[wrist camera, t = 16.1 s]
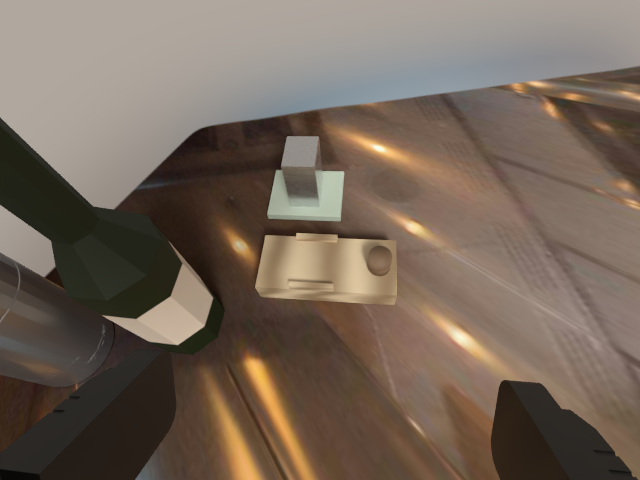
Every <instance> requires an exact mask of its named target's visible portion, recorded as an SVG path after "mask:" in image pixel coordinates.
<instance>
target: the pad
mask: <svg viewBox="0 0 640 480" xmlns="http://www.w3.org/2000/svg"><path fill="white" fill-rule="evenodd" d="M322 174H323V183H322V192H321V200H320V207H292V206H291V205H290V201H289V197H288V193H287V189H286V185H285V180H284V176H283V172H282V170H276V174H275V179H274V184H273V188H272V193H271V198H270V203H269V208H268V213H267V216H268V218H269V219H292V220H318V221H341V210H342V197H343V184H344V172H343V171H322Z"/></svg>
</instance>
